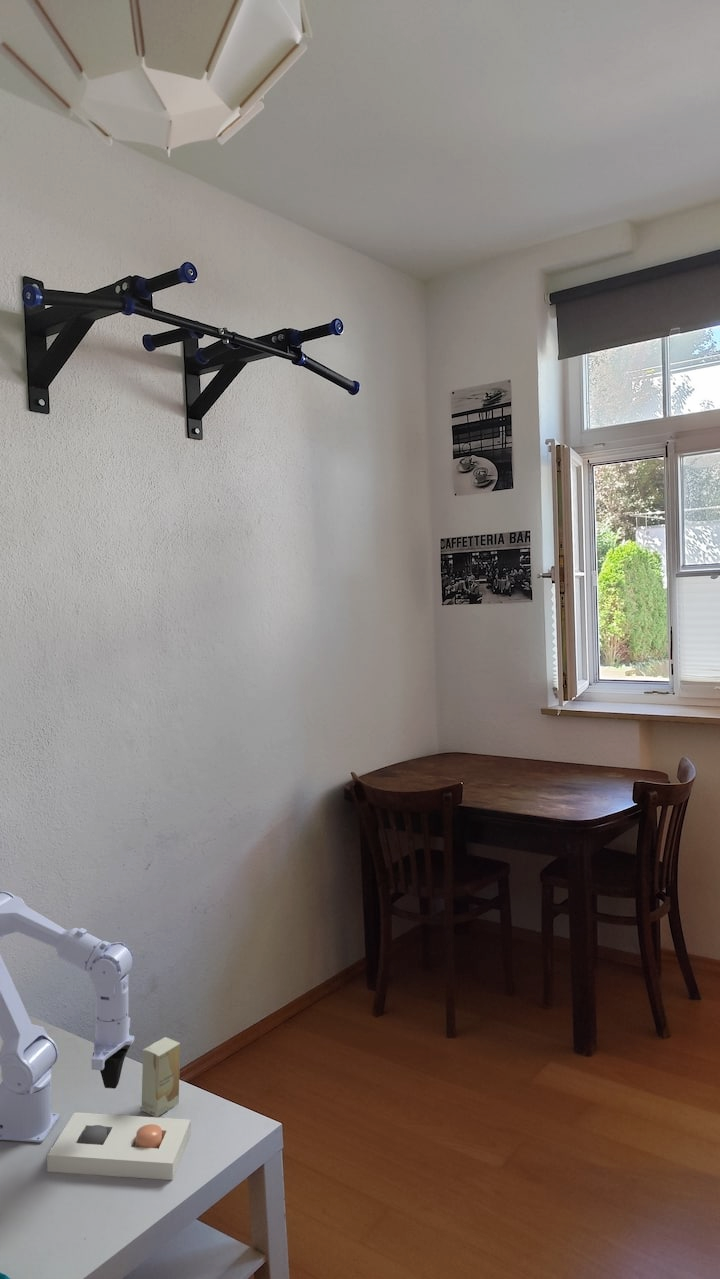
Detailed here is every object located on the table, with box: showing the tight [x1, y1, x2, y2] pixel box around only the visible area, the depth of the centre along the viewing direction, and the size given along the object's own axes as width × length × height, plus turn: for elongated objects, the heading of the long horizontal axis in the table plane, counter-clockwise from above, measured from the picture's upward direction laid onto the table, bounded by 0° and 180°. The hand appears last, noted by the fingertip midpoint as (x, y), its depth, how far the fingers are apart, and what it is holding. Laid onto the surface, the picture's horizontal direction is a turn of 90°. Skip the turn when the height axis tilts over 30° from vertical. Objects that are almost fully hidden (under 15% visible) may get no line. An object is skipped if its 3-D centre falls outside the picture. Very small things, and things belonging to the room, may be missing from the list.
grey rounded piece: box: [81, 1125, 107, 1145], centre depth 153 cm, size 4×4×3 cm
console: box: [46, 1111, 192, 1181], centre depth 153 cm, size 22×12×3 cm, turn 87°
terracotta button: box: [136, 1124, 162, 1149], centre depth 153 cm, size 4×4×3 cm
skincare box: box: [141, 1036, 181, 1118], centre depth 167 cm, size 6×4×12 cm
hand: (111, 1086), depth 156 cm, fingers closed
